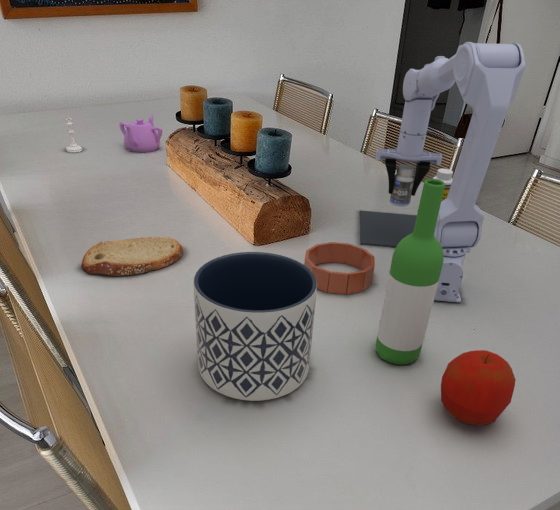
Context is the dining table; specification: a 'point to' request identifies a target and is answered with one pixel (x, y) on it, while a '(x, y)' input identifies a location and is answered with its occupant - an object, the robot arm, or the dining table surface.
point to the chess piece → (72, 138)
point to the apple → (477, 387)
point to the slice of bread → (131, 256)
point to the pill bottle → (403, 186)
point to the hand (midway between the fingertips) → (401, 193)
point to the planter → (254, 324)
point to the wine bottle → (412, 283)
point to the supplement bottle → (445, 180)
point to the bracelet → (341, 254)
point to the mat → (385, 228)
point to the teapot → (141, 135)
